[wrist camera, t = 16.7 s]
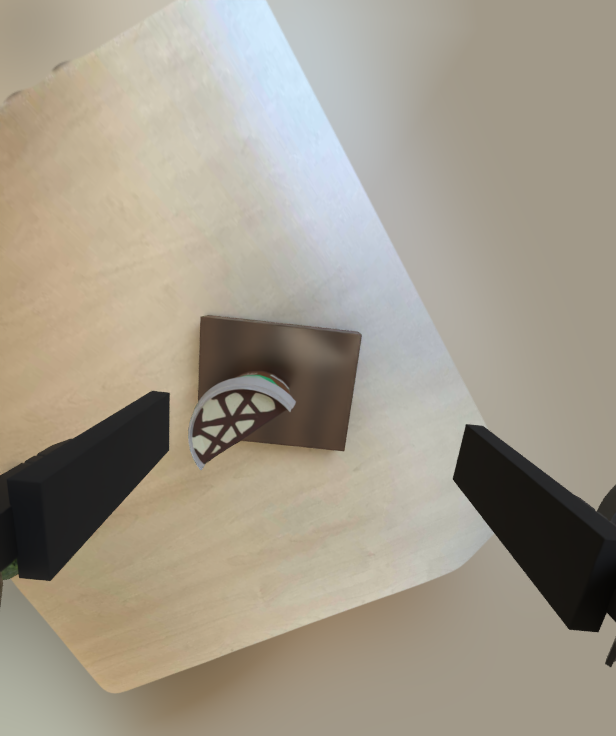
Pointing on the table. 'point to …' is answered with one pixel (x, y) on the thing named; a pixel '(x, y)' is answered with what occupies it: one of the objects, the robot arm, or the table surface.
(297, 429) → the board
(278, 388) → the food container
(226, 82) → the table surface
